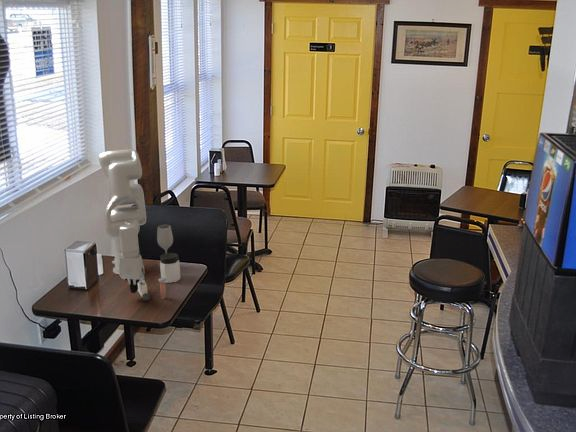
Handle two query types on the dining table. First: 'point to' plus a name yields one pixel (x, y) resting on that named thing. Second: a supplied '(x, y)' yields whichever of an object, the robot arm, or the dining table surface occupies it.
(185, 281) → the dining table surface
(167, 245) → the wineglass
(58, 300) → the dining table surface
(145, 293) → the gate
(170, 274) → the jar
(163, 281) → the end post
